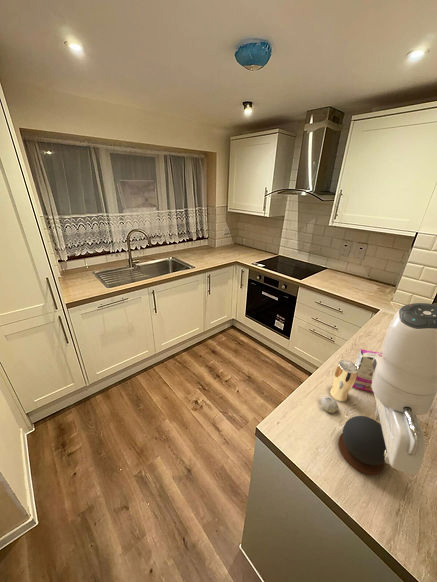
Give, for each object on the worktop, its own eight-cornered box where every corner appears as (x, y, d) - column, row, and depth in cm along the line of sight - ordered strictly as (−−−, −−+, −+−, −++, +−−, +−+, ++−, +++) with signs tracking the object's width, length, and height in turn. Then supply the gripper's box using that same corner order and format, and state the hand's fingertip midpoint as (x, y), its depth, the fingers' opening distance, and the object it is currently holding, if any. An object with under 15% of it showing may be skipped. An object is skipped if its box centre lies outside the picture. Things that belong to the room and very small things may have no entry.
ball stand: (375, 441, 74) (389, 413, 68) (388, 483, 64) (406, 454, 58) (334, 429, 77) (345, 402, 72) (340, 468, 67) (353, 439, 61)
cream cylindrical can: (324, 394, 90) (334, 364, 83) (333, 385, 94) (343, 356, 87) (343, 407, 85) (354, 376, 78) (351, 397, 89) (363, 367, 83)
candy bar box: (378, 386, 94) (393, 354, 87) (382, 396, 90) (398, 363, 83) (348, 379, 97) (359, 348, 90) (350, 388, 93) (362, 356, 86)
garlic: (316, 408, 84) (319, 398, 82) (321, 399, 88) (324, 389, 86) (333, 419, 81) (337, 408, 78) (338, 408, 84) (342, 398, 82)
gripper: (447, 448, 33) (419, 502, 39) (406, 357, 50) (391, 404, 56) (394, 432, 35) (374, 485, 41) (372, 351, 53) (360, 396, 58)
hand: (384, 438), depth 48 cm, fingers open, 8 cm apart
